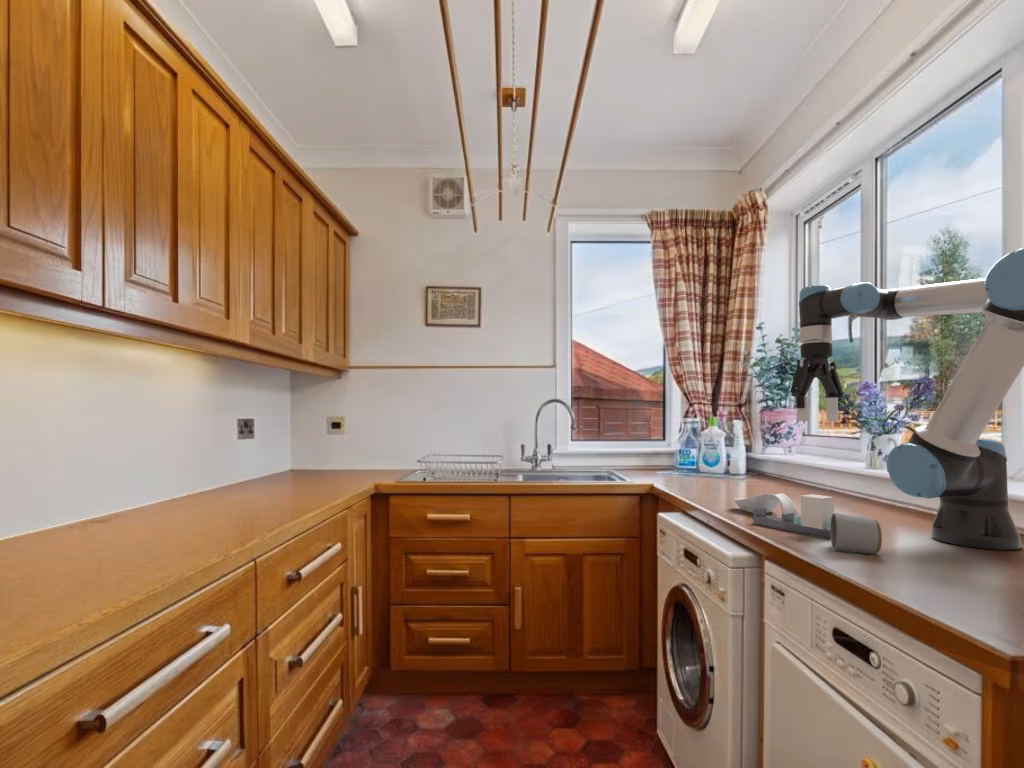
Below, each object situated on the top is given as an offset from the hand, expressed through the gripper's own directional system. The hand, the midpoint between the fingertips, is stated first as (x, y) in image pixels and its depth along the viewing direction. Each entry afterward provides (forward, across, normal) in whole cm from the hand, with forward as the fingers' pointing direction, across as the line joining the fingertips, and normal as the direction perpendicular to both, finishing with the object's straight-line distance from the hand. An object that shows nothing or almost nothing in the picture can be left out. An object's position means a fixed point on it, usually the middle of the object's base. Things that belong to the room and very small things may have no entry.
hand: (818, 421), depth 143 cm
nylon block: (+25, +17, +9) cm, 31 cm away
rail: (+27, +17, +4) cm, 32 cm away
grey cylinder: (+27, +24, +21) cm, 42 cm away
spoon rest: (+27, +4, -12) cm, 30 cm away
